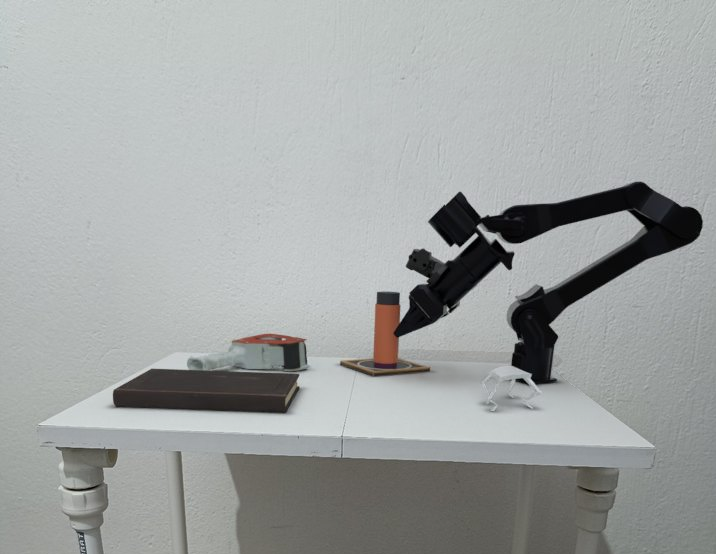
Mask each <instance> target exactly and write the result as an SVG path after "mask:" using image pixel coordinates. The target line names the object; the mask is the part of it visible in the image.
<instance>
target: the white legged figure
mask: <svg viewBox="0 0 716 554" xmlns="http://www.w3.org/2000/svg"><path fill="white" fill-rule="evenodd" d="M488 372H489V373H488V375H487V376H486V377H485V378H484V379H483V380H482V382H481V385H482V388H483V390H484V391H485V394H486V395H487V397H486V399H487V401H486V402H485V405H488V404H489V403H490V402H491V403H492V404H494V406H493V407H492V408H491V410H490V411H491V412H494V411H495V410H496V409H497V408H498V406H499V404H498V403H497V402H495V401H494V400H493V399H492V397H493V396H494V395H495V393H496V391H497V390H498V388H499V387H500V384H501V383H502V382H504V381H511V382H510V384H509V386H508V389H507V391H506V393H507V394H508V396H510V397H511V398H512V399H515V397H514V395H512V394H511V390H512V389H513V386H514V385H515V383H516V381H517V380H515V379H518V378H523V379H524V380H525V381H526V382H527V383H526V384H528V385H529V386H530V388H532V389H533V390H534V391H533V392H531V393H530V394H528V395H526V396H525V397H523V398H522V399H521V400H520V401H521V402H522V403H523V404H525V405H526V406H527V407H528V408H530V409H535V408H534V407H533V406H531V405H530V404H529V403H528V402H526V401H528V400H530V399H531V400H532V399H533V398H534V397H537V396H539V395H541V394H543V392H542V391H541V389H540V388H539V387H538V385H536V384H535V383H534V382H533V381H532V380H531V379H530V378H531V376H532V374H530V373H527V372H525V371H522V370H520V369H518V368H516V367H513V366H511V365H505V366H499V367H497V368H494V369H492V370H489V371H488ZM491 378H494V379H495V380H496V381H497V383H496V384H495V386H494V388H493V389H492V390H491V392H490V393H489V391H488V389H487V386H486V382H487V381H489V380H490V379H491Z"/></svg>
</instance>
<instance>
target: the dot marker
mask: <svg viewBox="0 0 716 554" xmlns="http://www.w3.org/2000/svg"><path fill="white" fill-rule="evenodd" d="M400 299H401V292H399V291H386V290H385V291H376V302H375V306H374V328H373V330H374V331H373V332H374V334H373V357H372V358H373V361H374V367H375V368H379V369H395V368H397V362H398V358H399V347H400V346H399V345H400V337H398V338H397V337H396V336H395V335H394V334H393V333H394V331H395V329H396V328H397V326H398V325H399V323H400V322H401V304H400V302H401V300H400Z"/></svg>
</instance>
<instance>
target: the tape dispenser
mask: <svg viewBox="0 0 716 554" xmlns="http://www.w3.org/2000/svg"><path fill="white" fill-rule="evenodd" d="M305 341H307V338H302V337H298V336H291V335H286V334H285V335H284V334H278V333H261V334H256V335H252V336H246V337H241V338H238V339H233V340H231V345H230V346H229V347H228V348H227V350H228V351H221V352H216V353H210V354H206V355H202V356H190V357H188V358H187V359H186V367H187V370H206V371H212V370H216V369H221V368H224V367H228V366H232V365H233V367H236V368H240V369H247V370H271V369H274V367H276V366H279V367H280V366H281V368H283V371H284V372H298V371H301V370H305V369H306V370H307V369H309V368H310V365H308V356H307V354H308V353H307V352H308V351H307V345H306V342H305Z"/></svg>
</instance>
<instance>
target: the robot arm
mask: <svg viewBox="0 0 716 554" xmlns="http://www.w3.org/2000/svg"><path fill="white" fill-rule="evenodd" d="M625 211H626V212H628V213H629V214H630V215H631V216H633V218H635V219H636V220H637V221H638V222H639V223H640V224H641V225H642V227H641V228H640V230H639V231H638V232H637V233H636V234H635V235H634V236H633V237H632V238H631V239H629V240H628V241H626V242H625V243H622V244H621V245H620V246H618V247H616V248H614V249H613V250H611V251H609V252H608V253H607V254H605V255H603V256H602V257H600V258H598V259H597V260H595V261H594V262H593V261H592V262H591V263H590V264H588V265H587V266H586V267H583V268H582V269H580V270H578V271H577V272H575V273H573V274H572V275H570V276H568V277H567V278H565V279H564V280H562V281H561V282H559V283H557V284H556V285H554V286H551V287H548V288H546V289H544V286H542V285H539V284H537V283H536V284H534V285H533V286H532V287H530V288H529V289H528V290H527V291H526V292H524V293H522V294H519V295H515V296H514V298H515V299H516V300H514V302H512V303H511V304H510V305H509V307H508V308H507V311H506V322H507V325H508V326H509V327H510V329H511V330H512V331H513V332H515V335H516V338H517V340H518V342H514V349H513V352H512V354H511V362H510V366H513V367H516V368H518V369H520V370H522V371H525V372H527V373H530V374H532V376H531V378H530V379H531V380H532V381H533V382H534V383H535V385H536V384H544V383H553V382H555V383H556V382H558V378H557V377H552V368H553V360H554V352H555V345H556V343H557V341H558V339H559V334H557V332H556V331H555V330H554V329H553V328H552V327H551V324H552V323H553V322H554V321H555V320H556V319H558V317H559V316H560V315H561V314H562V313H563V312H564V311H565V310H566V309H567V308H569V306H571V305H573V304H575V303H576V302H578V301H580V300H581V299H583V298H585V297H586V296H588V295H590V294H592V293H593V292H595V291H597V290H598V289H600V288H602V287H603V286H604V285H607V284H608V283H611V282H612V281H613V280H615V279H617V278H618V277H620V276H622V275H624V274H625V273H626V272H628V271H630V270H632V269H633V268H635V267H637V266H638V265H640V264H642V263H643V262H645V261H648V260H649V259H653V258H656V257H659V256H662V255H664V254H668V253H671V252H673V251H676V250H678V249H681V248H683V247H686V246H688V245H691V244H692V243H694V242H695V241H696V240H698V238H699V237H700V236H701V232H702V229H703V227H704V226H703V225H704V224H703V223H704V221H703V217H702V215H701V213H700V211H699V210H698V209H696V208H695V207H692V206H687V205H685V206H681V205H680V204H679V203H677V202H676V201H674V200H672V199H671V198H669V197H667V196H666V195H663V194H662V193H660V192H658V191H656V190H654V189H653V188H652V187H650V186H649V185H648V184H647V183H646V182H643V181H634V182H630V183H627V184H624V185H622V186H620V187H617V188H612V189H607V190H603V191H599V192H595V193H591V194H586V195H583V196H579V197H574V198H570V199H567V200H563V201H557V202H550V203H527V204H515V205H512V206H509V207H507V208H505V209H503V210H502V211H500V213H499V214H497V215H489V214H486V215H484V216H483V217H482V216H481V215H480V213H478V212H477V210H476V209H475V208H474V207H473V206H472V205H471V204H470V202H469V201H468V199H467V197H466V196H465V195H464V193H463V192H462V191H458V192H457V193H456V194H455V195H454V196H453V197H452V198H451V199H450V200H449V201H448V202H447V203H446V204H443V205H442V206H441V207H440V208H439V209H438V210H437V212H435V213H434V214H433V215H432V217H431V218H430V219H429V220H428V221H427V223H428V224H429V225H430V227H431V228H432V229H433V230H434V232H436V234H438V236H439V237H440V238H441V239H442V240H443V241H444V242H445V243H446V245H447V246H448V247H449V248H452V247H453V246H454V245H456V246H457V248H459V249H461V248H462V247H463V246H464V245H465V244H466V243H467V242H468V241H469V240H470V239H471V238H472V237H473V236H474V235H475V234H476V235H477V236H476V237H475V238H474V239H473V240H472V241H471V242H470V243H469V244H467V246H466V247H465V248H464V249H463V250H462V251H461V252H460V253H459V254H458V255H456V256H455V257H454V258H453V259H448V260H447V261H446V262H443V261H442V260H440V259H438V258H437V257H435V256H433V255H432V253H433V252H431V251H428V250H427V249H426V248H424V247H423V248H421V249H419V248H413V250H412V251H411V254H409V255H408V260H407V262H406V264H405V268H407V270H410V271H414V272H415V273H417V274H419V275H421V276H423V277H425V278H427V279H426V281H425V282H426V283H419V284H417V285H415V287H413V288H412V289H411V290H410V291H409V295H408V300H409V301H408V302H409V303H408V304H409V305H408V306H409V307H408V310H407V312H405V314H404V316H403V317H402V319H400V323H399V325H398V326H397V328H396V329H395V331H394V333H393V334H394V335H395V336H396V337H397V338H398V337H399V338H401V337H403V336H406V335H408V334H411V333H413V332H415V331H419V330H421V329H423V328H426V327H428V326H430V325H433V324H435V323H437V322H438V321H439V320H440V319H442V318H445V317H447V316H448V315H449V314H451V313H453V312H454V311H455V310H457V308H458V307H460V303H461V300H462V299H464V297H465V296H466V295H468V294H469V293H470V292H471V291H472V290H475V288H477V286H478V285H479V284H480V283H481V282H482V281H483V280H484V279H485V278H486V277H487V276H488V275H489V274H491V273H492V271H494V270H495V269H496V268H497V267H498V266H499V265H500V264H502V265H503V266H504V267H505V268H506V270H507V271H512V269H513V260H514V257H515V251H514V250H511V251H509V250H507V249H506V248H505V247H504V246H503V245H502V244H501V243H500V242H499V240H500V241H501V242H503V243H504V244H508V245H517V244H522V243H525V242H527V241H529V240H532V239H534V238H537V237H539V236H542V235H543V234H545V233H548V232H550V231H552V230H554V229H556V228H559V227H562V226H563V227H564V226H567V225H571V224H575V223H579V222H583V221H587V220H591V219H596V218H600V217H604V216H609V215H613V214H616V213H620V212H625ZM479 227H480V229H481V230H482V231H483V232H486V233H491V234H495V235H496V236H497V238H498V239H499V240H497V238H494V239H492V240H491V241H490V240H489V238H487V236H486V235H485V234H484V233H483V232H482V231H481V230H480V229H479ZM515 380H516V381H517V382H521V383H524V384H528V383H527V382H526V381H525V380H524V379H523V378H518V379H515Z"/></svg>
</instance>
